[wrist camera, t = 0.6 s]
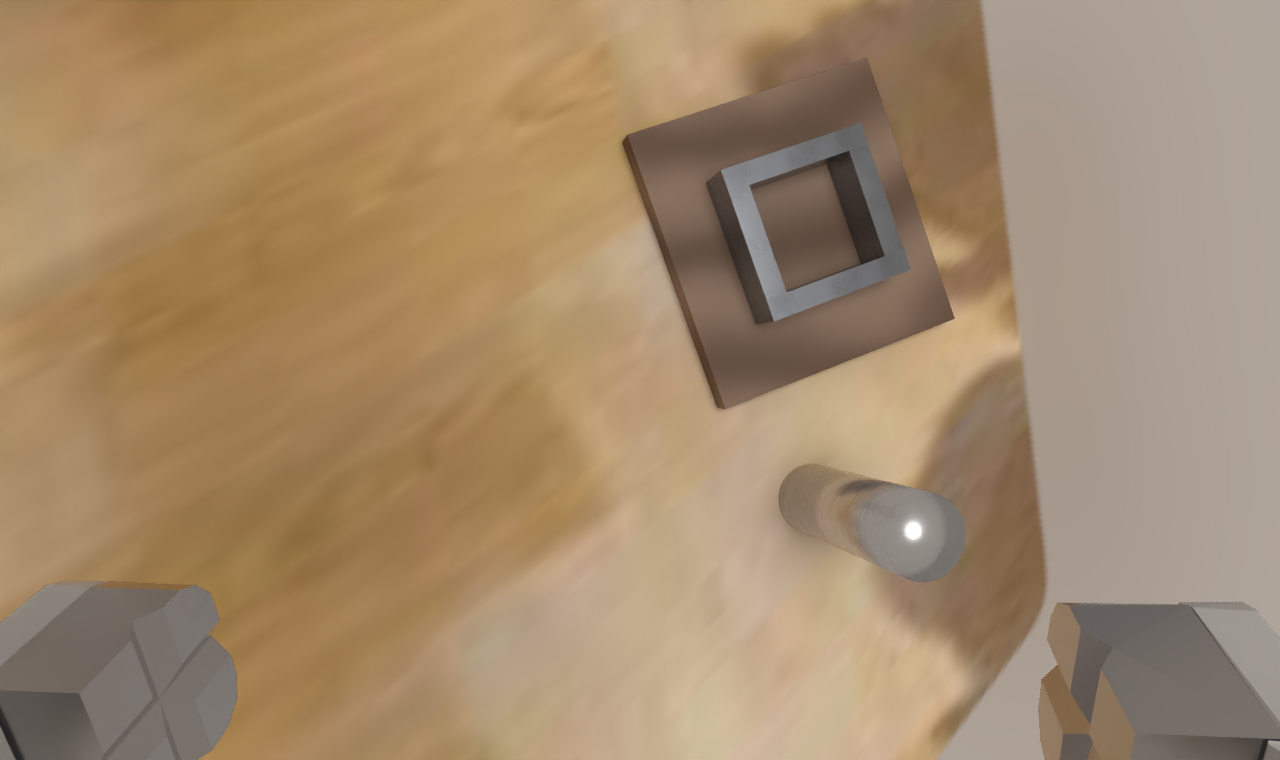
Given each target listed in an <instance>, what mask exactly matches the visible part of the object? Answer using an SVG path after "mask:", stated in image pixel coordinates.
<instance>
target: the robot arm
mask: <svg viewBox="0 0 1280 760" xmlns="http://www.w3.org/2000/svg"><path fill="white" fill-rule="evenodd" d="M219 620H220V618H219V616H218V613H217V610H216V608H215V605H214V602H213V599H212V597H211V594H210V592H208V591H206V590H204V589H202V588H200V587H198V586H196V585H180V584H157V583H134V582H111V581H109V582H100V581H67V580H65V581H61V582H57V583H53V584H49V585H46V586H44V587H43V588H42V589H41V590H39V591H38V592H37V593H36V594H35V595H33V596H32V597H31V598H30V599H29V600H27V601H26V602H25V603H24V604H22V605H21V606H20V607H19V608H18V609H16V610H15V611H14V612H13V613H11V614H10V615H9V616H8V617H7V618H5V619H4V620H3V621H2V622H0V760H198V759H199V758H201V757H202V756H204V755H205V754H207V753H209V752H210V751H212V750H213V748H214V747H215V745H216V744H217V742H218V741H219V739H220V738H221V736H222V735H223V733H224V732H225V731H226V729H227V728H228V725H229V722H230V719H231V716H232V712H233V709H234V706H235V703H236V699H237V674H236V670H235V667H234V664H233V660H232V657H231V654H230V653H229V652H227V651H226V650H225V649H224V648H223V647H222V646H221V645H220V644H219V643H218V642H217V641H216V640H215V639H214V638H213V637H211V636H212V634H213V632H214V630H215V628H216V626H217V624H218V622H219ZM1047 641H1048V643H1049V645H1050V647H1051V650H1052V652H1053V655H1054V657H1055V659H1056V661H1057V664H1058V665H1057V666H1056V667H1055V668H1053V669H1052V670H1051V671H1050V672H1049V673H1048V674H1047V675H1046V676H1045V677H1044V678H1043V679H1041V688H1040V698H1039V708H1038V714H1039V728H1040V741H1041V746H1042V750H1043V754H1044V758H1045V760H1280V637H1279V636H1278V635H1277V633H1276V632H1275V631H1274V630H1273V629H1272V628H1271V626H1270V625H1269V624H1268V623H1267V621H1266V620H1265V619H1264V618H1263V617H1262V616H1261V614H1260V613H1259V612H1258V611H1257V610H1256V609H1255V608H1253V607H1251V606H1249V605H1247V604H1245V603H1243V602H1183V603H1181V602H1180V603H1179V604H1178V605H1173V604H1172V605H1169V604H1108V603H1107V604H1106V603H1103V604H1102V603H1057V604H1056V606H1055V608H1054V611H1053V613H1052V615H1051V618H1050V624H1049V631H1048V637H1047Z"/></svg>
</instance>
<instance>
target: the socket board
mask: <svg viewBox="0 0 1280 760" xmlns="http://www.w3.org/2000/svg"><path fill="white" fill-rule="evenodd" d="M859 123H862V126H863V129H864V132H865V135H866V138H867V141H868V144H869V147H870V150H871V153H872V156H873V159H874V162H875V165H876V168H877V171H878V174H879V177H880V180H881V183H882V185H883V188H884V191H885V194H886V197H887V200H888V203H889V206H890V209H891V212H892V215H893V218H894V221H895V224H896V227H897V230H898V233H899V236H900V239H901V242H902V245H903V248H904V251H905V253H906V256H907V259H908V262H909V265H910V268H911V270H909V271H907V272H904V273H901V274H899V275H896V276H893V277H891V278H888V279H885V280H883V281H880V282H877V283H875V284H872V285H870V286H867V287H864V288H862V289H859V290H856V291H854V292H851V293H848V294H846V295H843V296H840V297H838V298H835V299H832V300H830V301H827V302H824V303H822V304H819V305H816V306H814V307H811V308H809V309H806V310H803V311H801V312H798V313H795V314H793V315H790V316H787V317H785V318H782V319H779V320H777V321H774V322H769V323H763V324H758V325H756V324H755V322H754V319H753V316H752V313H751V310H750V307H749V305H748V302H747V299H746V296H745V293H744V290H743V288H742V285H741V282H740V279H739V276H738V273H737V271H736V268H735V265H734V262H733V259H732V256H731V254H730V251H729V248H728V245H727V242H726V239H725V237H724V234H723V231H722V228H721V225H720V222H719V220H718V217H717V214H716V211H715V208H714V205H713V202H712V200H711V197H710V194H709V191H708V188H707V185H706V182H707V181H708V180H709V179H711V178H712V177H713V176H714V175H716V174H717V173H718V172H719V171H720V170H723V169H726V168H729V167H732V166H735V165H738V164H741V163H743V162H746V161H749V160H752V159H755V158H758V157H761V156H764V155H767V154H770V153H773V152H776V151H779V150H782V149H785V148H788V147H791V146H794V145H797V144H800V143H803V142H806V141H809V140H812V139H815V138H817V137H820V136H823V135H826V134H829V133H832V132H835V131H838V130H841V129H844V128H847V127H850V126H853V125H856V124H859ZM623 145H624V148H625V150H626V153H627V156H628V159H629V162H630V164H631V167H632V170H633V173H634V176H635V178H636V181H637V184H638V187H639V189H640V192H641V195H642V198H643V201H644V203H645V206H646V209H647V212H648V215H649V217H650V220H651V223H652V226H653V229H654V231H655V234H656V237H657V240H658V242H659V245H660V248H661V251H662V254H663V256H664V259H665V262H666V265H667V268H668V270H669V273H670V276H671V279H672V281H673V284H674V287H675V290H676V293H677V295H678V298H679V301H680V304H681V307H682V309H683V312H684V315H685V318H686V321H687V323H688V326H689V329H690V332H691V334H692V337H693V340H694V343H695V346H696V348H697V351H698V354H699V357H700V360H701V362H702V365H703V368H704V371H705V374H706V376H707V379H708V382H709V385H710V387H711V390H712V393H713V396H714V399H715V401H716V404H717V407H718V408H723V409H726V408H729V407H731V406H734V405H736V404H739V403H741V402H744V401H747V400H749V399H752V398H754V397H757V396H759V395H762V394H764V393H767V392H769V391H772V390H775V389H777V388H780V387H782V386H785V385H787V384H790V383H792V382H795V381H797V380H800V379H803V378H805V377H808V376H810V375H813V374H815V373H818V372H820V371H823V370H825V369H828V368H831V367H833V366H836V365H838V364H841V363H843V362H846V361H848V360H851V359H853V358H856V357H859V356H861V355H864V354H866V353H869V352H871V351H874V350H876V349H879V348H881V347H884V346H886V345H889V344H892V343H894V342H897V341H899V340H902V339H904V338H907V337H909V336H912V335H914V334H917V333H920V332H922V331H925V330H927V329H930V328H932V327H935V326H937V325H940V324H942V323H945V322H948V321H950V320H953V319H955V318H954V315H953V312H952V309H951V306H950V304H949V301H948V298H947V295H946V292H945V289H944V286H943V283H942V280H941V277H940V274H939V271H938V268H937V265H936V262H935V259H934V256H933V253H932V250H931V247H930V244H929V241H928V238H927V235H926V232H925V229H924V226H923V223H922V220H921V217H920V214H919V211H918V208H917V205H916V202H915V199H914V196H913V193H912V190H911V187H910V184H909V181H908V179H907V176H906V173H905V170H904V167H903V164H902V161H901V158H900V155H899V152H898V149H897V146H896V143H895V140H894V137H893V134H892V131H891V128H890V125H889V122H888V119H887V116H886V113H885V110H884V107H883V104H882V101H881V98H880V95H879V92H878V89H877V86H876V83H875V80H874V77H873V74H872V71H871V68H870V65H869V62H868V59H867V58H864V59H861V60H858V61H855V62H852V63H849V64H846V65H843V66H839V67H836V68H833V69H830V70H827V71H824V72H821V73H818V74H815V75H812V76H808V77H805V78H802V79H799V80H796V81H793V82H790V83H787V84H784V85H781V86H777V87H774V88H771V89H768V90H765V91H762V92H759V93H756V94H753V95H750V96H746V97H743V98H740V99H737V100H734V101H731V102H728V103H725V104H722V105H719V106H715V107H712V108H709V109H706V110H703V111H700V112H697V113H694V114H691V115H688V116H684V117H681V118H678V119H675V120H672V121H669V122H666V123H663V124H660V125H657V126H653V127H650V128H647V129H644V130H641V131H638V132H635V133H632V134H629V135H627V136H626V138H625V139H624V141H623ZM751 192H752V195H753V197H754V200H755V203H756V206H757V209H758V212H759V215H760V217H761V220H762V223H763V226H764V229H765V232H766V235H767V237H768V240H769V243H770V246H771V249H772V252H773V255H774V258H775V260H776V263H777V266H778V269H779V272H780V275H781V278H782V280H783V283H784V286H785V289H786V291H787V290H790V289H792V288H795V287H798V286H801V285H803V284H806V283H809V282H811V281H814V280H817V279H819V278H822V277H825V276H827V275H830V274H833V273H836V272H838V271H841V270H844V269H846V268H849V267H852V266H854V265H857V264H860V260H859V257H858V254H857V251H856V249H855V246H854V243H853V240H852V237H851V234H850V231H849V228H848V225H847V222H846V219H845V216H844V213H843V211H842V208H841V205H840V202H839V199H838V196H837V193H836V190H835V187H834V184H833V181H832V178H831V175H830V173H829V170H828V167H827V164H825V165H822V166H819V167H816V168H813V169H810V170H808V171H805V172H802V173H799V174H796V175H793V176H790V177H787V178H784V179H781V180H779V181H776V182H773V183H770V184H767V185H764V186H761V187H758V188H755V189H752V190H751Z"/></svg>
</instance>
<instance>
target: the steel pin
mask: <svg viewBox="0 0 1280 760" xmlns="http://www.w3.org/2000/svg"><path fill="white" fill-rule="evenodd" d="M779 504H780V509H781V512H782V514H783V516H784V518H785V519H786V520H787V522H788V523H789V524H790V525H792V526H793V527H794V528H796V529H798V530H800V531H802V532H805V533H807V534H809V535H811V536H813V537H816V538H818V539H820V540H822V541H825V542H827V543H829V544H831V545H833V546H836V547H838V548H840V549H842V550H844V551H847V552H849V553H851V554H853V555H855V556H858V557H860V558H862V559H864V560H866V561H869V562H871V563H873V564H875V565H877V566H880V567H882V568H884V569H886V570H889V571H891V572H893V573H895V574H897V575H900V576H902V577H904V578H906V579H909V580H911V581H916V582H930V581H934V580H937V579H939V578H941V577H943V576H945V575H946V574H947V573H949V572H950V571H951V570H952V569H953V568H954V566H955V565H956V564H957V562H958V561H959V559H960V557H961V555H962V552H963V549H964V545H965V526H964V522H963V519H962V517H961V514H960V513H959V511H958V509H957V508H956V507H955V505H954V504H953V503H952V502H950V501H949V500H948V499H947V498H945V497H943V496H941V495H939V494H936V493H931V492H927V491H923V490H919V489H915V488H911V487H907V486H903V485H899V484H895V483H891V482H886V481H882V480H878V479H874V478H870V477H866V476H862V475H858V474H854V473H850V472H846V471H841V470H837V469H833V468H829V467H825V466H821V465H817V464H807V465H803V466H800V467H798V468H796V469H795V470H793V471H792V472H791V473H790V474H789V475H788V476H787V477H786V479H785V480H784V482H783V484H782V486H781V489H780V494H779Z"/></svg>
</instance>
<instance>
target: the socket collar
mask: <svg viewBox="0 0 1280 760" xmlns="http://www.w3.org/2000/svg"><path fill="white" fill-rule="evenodd" d="M825 164H827V167H828V170H829V173H830V175H831V178H832V181H833V184H834V187H835V190H836V193H837V196H838V199H839V202H840V205H841V208H842V211H843V213H844V216H845V219H846V222H847V225H848V228H849V231H850V234H851V237H852V240H853V243H854V246H855V249H856V251H857V254H858V257H859V260H860V264H857V265H854V266H852V267H849V268H846V269H844V270H841V271H838V272H836V273H833V274H830V275H827V276H825V277H822V278H819V279H817V280H814V281H811V282H809V283H806V284H803V285H801V286H798V287H795V288H792V289H790V290H787V291H786V289H785V286H784V283H783V280H782V278H781V275H780V272H779V269H778V266H777V263H776V260H775V258H774V255H773V252H772V249H771V246H770V243H769V240H768V237H767V235H766V232H765V229H764V226H763V223H762V220H761V217H760V215H759V212H758V209H757V206H756V203H755V200H754V197H753V195H752V192H751V190H752V189H755V188H758V187H761V186H764V185H767V184H770V183H773V182H776V181H779V180H781V179H784V178H787V177H790V176H793V175H796V174H799V173H802V172H805V171H808V170H810V169H813V168H816V167H819V166H822V165H825ZM706 185H707V188H708V191H709V194H710V197H711V200H712V202H713V205H714V208H715V211H716V214H717V217H718V220H719V222H720V225H721V228H722V231H723V234H724V237H725V239H726V242H727V245H728V248H729V251H730V254H731V256H732V259H733V262H734V265H735V268H736V271H737V273H738V276H739V279H740V282H741V285H742V288H743V290H744V293H745V296H746V299H747V302H748V305H749V307H750V310H751V313H752V316H753V319H754V322H755V324H756V325H758V324H763V323H769V322H774V321H777V320H779V319H782V318H785V317H787V316H790V315H793V314H795V313H798V312H801V311H803V310H806V309H809V308H811V307H814V306H816V305H819V304H822V303H824V302H827V301H830V300H832V299H835V298H838V297H840V296H843V295H846V294H848V293H851V292H854V291H856V290H859V289H862V288H864V287H867V286H870V285H872V284H875V283H877V282H880V281H883V280H885V279H888V278H891V277H893V276H896V275H899V274H901V273H904V272H907V271H909V270H911V268H910V265H909V262H908V259H907V256H906V253H905V251H904V248H903V245H902V242H901V239H900V236H899V233H898V230H897V227H896V224H895V221H894V218H893V215H892V212H891V209H890V206H889V203H888V200H887V197H886V194H885V191H884V188H883V185H882V183H881V180H880V177H879V174H878V171H877V168H876V165H875V162H874V159H873V156H872V153H871V150H870V147H869V144H868V141H867V138H866V135H865V132H864V129H863V126H862V123H859V124H856V125H853V126H850V127H847V128H844V129H841V130H838V131H835V132H832V133H829V134H826V135H823V136H820V137H817V138H815V139H812V140H809V141H806V142H803V143H800V144H797V145H794V146H791V147H788V148H785V149H782V150H779V151H776V152H773V153H770V154H767V155H764V156H761V157H758V158H755V159H752V160H749V161H746V162H743V163H741V164H738V165H735V166H732V167H729V168H726V169H723V170H720V171H719V172H718V173H717V174H716V175H714V176H713V177H712V178H711V179H709V180H708V181H707V182H706Z"/></svg>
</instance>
